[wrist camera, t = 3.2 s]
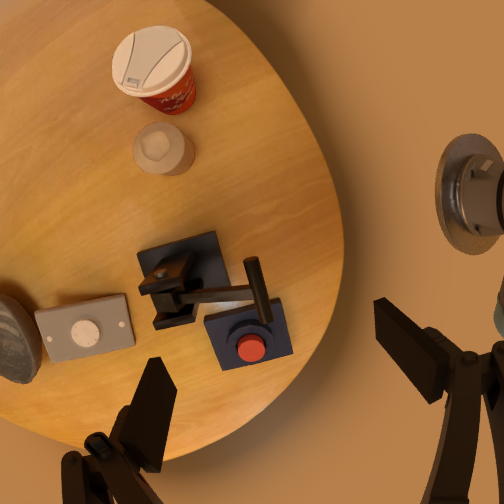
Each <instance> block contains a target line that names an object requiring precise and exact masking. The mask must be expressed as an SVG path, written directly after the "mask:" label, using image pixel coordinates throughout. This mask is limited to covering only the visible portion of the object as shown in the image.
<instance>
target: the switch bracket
mask: <svg viewBox="0 0 504 504" xmlns="http://www.w3.org/2000/svg"><path fill="white" fill-rule="evenodd" d="M137 257H138V260H139V263H140V266H141V269H142V271H143V274H144V277H145V279H144V281H143V282H142V283H141V284H140V285H139V287H138V288H139V291H140V294H141V296H143V295H147V294H151V293H155V292H159V291H163V290H167V289H171V288H175V287H179V286H182V284H183V285H184V288H185V290H194V289H206V288H217V287H228V286H231V284H230V280H229V277H228V274H227V270H226V267H225V264H224V260H223V257H222V253H221V250H220V246H219V243H218V240H217V236H216V233H215V230H214V231H210V232H206V233H203V234H199V235H196V236H192V237H189V238H185V239H182V240H178V241H175V242H171V243H168V244H164V245H161V246H157V247H154V248H151V249H147V250H144V251H140V252H138V253H137ZM198 307H199V303H194V304H186V305H185V306H184V307H183V308H182V309H181V310H180V311H178V312H175V313H157V315H156V317H155V319H154V321H153V325H154V328H155V330H161V329H166V328H170V327H175V326H180V325H184V324H189V323H193V322H195V319H196V315H197V311H198Z"/></svg>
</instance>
